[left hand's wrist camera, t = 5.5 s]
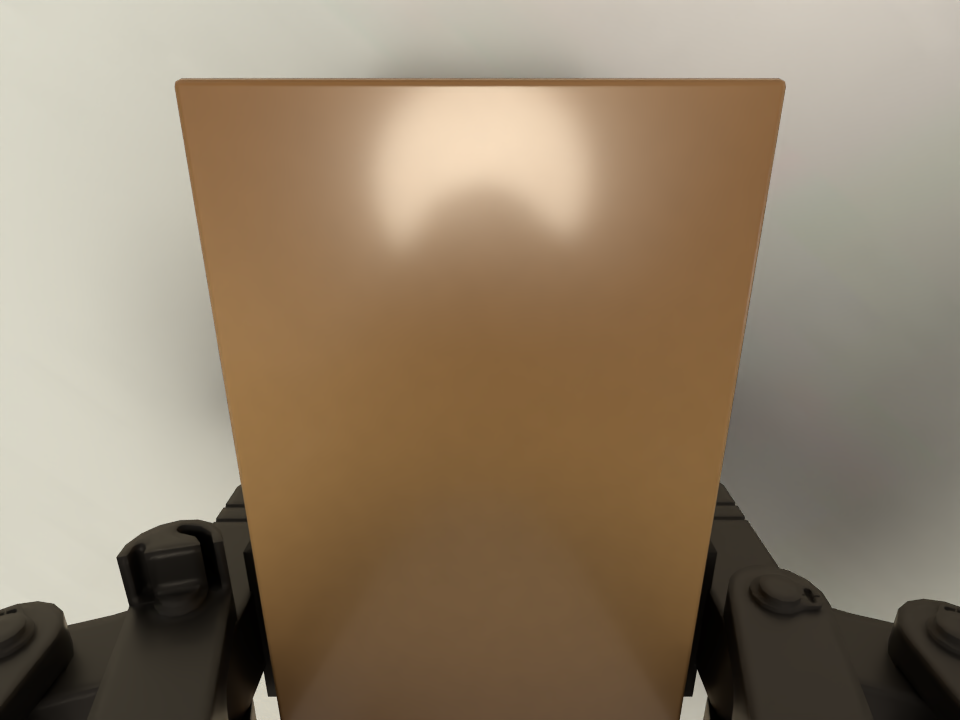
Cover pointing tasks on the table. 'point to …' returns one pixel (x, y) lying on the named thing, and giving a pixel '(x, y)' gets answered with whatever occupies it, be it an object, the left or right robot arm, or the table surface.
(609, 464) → the bar
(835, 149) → the table surface
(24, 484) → the table surface
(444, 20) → the table surface
